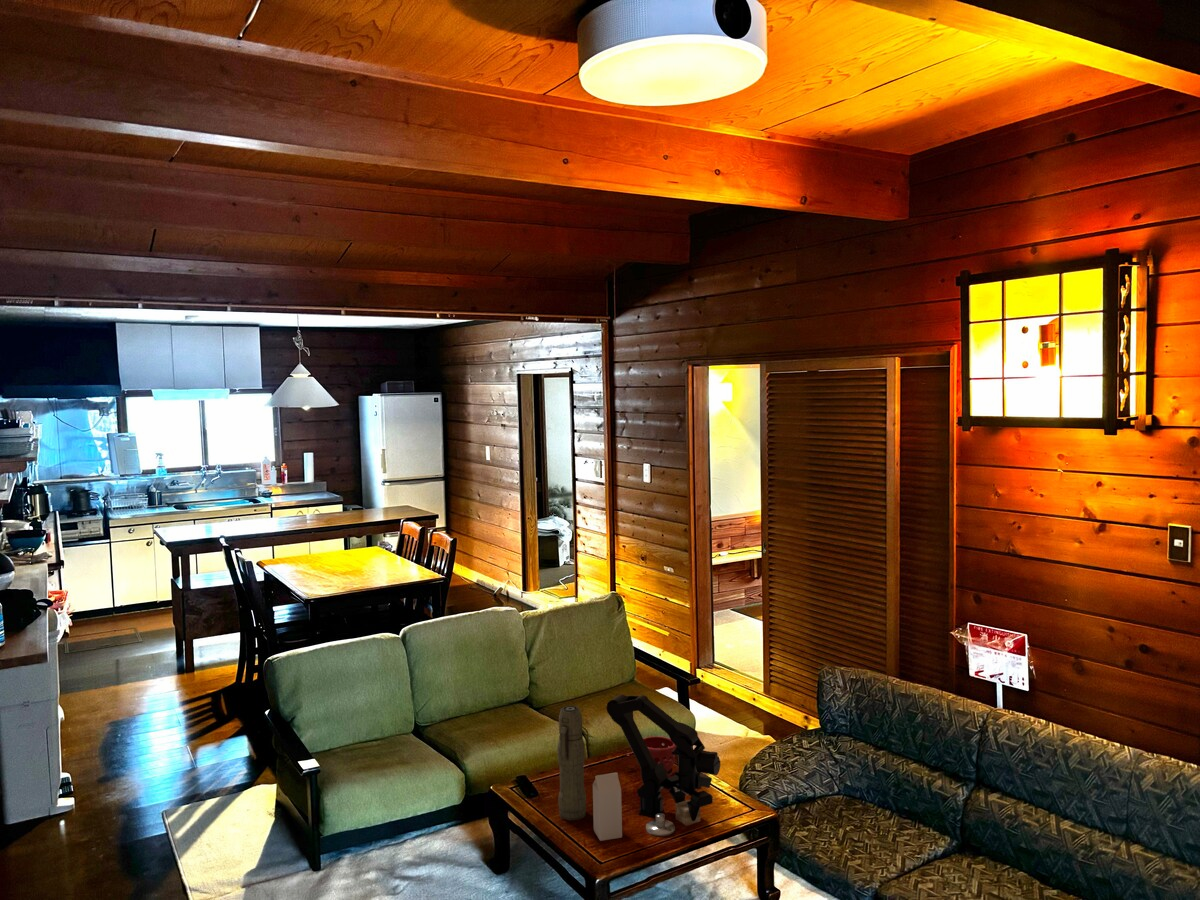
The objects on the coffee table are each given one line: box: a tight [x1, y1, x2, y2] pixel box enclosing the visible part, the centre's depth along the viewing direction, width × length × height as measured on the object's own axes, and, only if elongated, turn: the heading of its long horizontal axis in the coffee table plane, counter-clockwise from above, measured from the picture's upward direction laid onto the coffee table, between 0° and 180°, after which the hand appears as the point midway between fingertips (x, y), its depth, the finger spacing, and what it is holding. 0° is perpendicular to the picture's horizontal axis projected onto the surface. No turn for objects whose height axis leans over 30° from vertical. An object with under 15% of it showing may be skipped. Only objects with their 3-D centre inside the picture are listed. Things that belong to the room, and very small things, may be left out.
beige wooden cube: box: [674, 798, 701, 827], centre depth 282 cm, size 6×6×5 cm
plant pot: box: [643, 735, 676, 777], centre depth 317 cm, size 13×13×12 cm
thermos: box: [557, 705, 587, 821], centre depth 287 cm, size 9×12×35 cm
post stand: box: [645, 812, 676, 837], centre depth 277 cm, size 9×9×4 cm
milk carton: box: [592, 772, 623, 842], centre depth 274 cm, size 7×7×19 cm
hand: (687, 816), depth 282 cm, fingers closed on beige wooden cube, 6 cm apart
